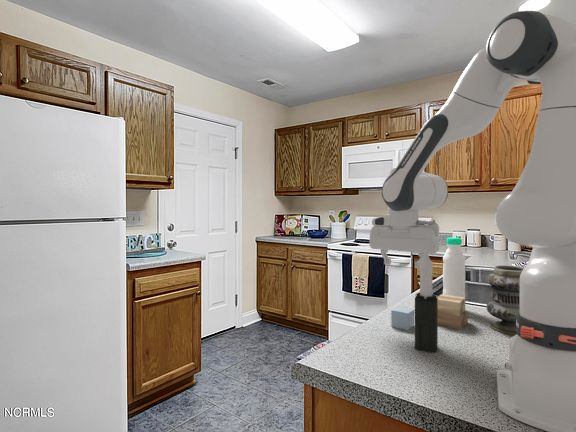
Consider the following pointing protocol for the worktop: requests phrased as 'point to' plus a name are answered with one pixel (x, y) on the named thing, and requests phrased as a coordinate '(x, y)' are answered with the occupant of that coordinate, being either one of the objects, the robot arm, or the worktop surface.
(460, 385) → the worktop surface
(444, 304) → the top block
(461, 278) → the water bottle
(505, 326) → the apothecary jar
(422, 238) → the robot arm
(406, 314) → the blue cube
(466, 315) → the bottom block
